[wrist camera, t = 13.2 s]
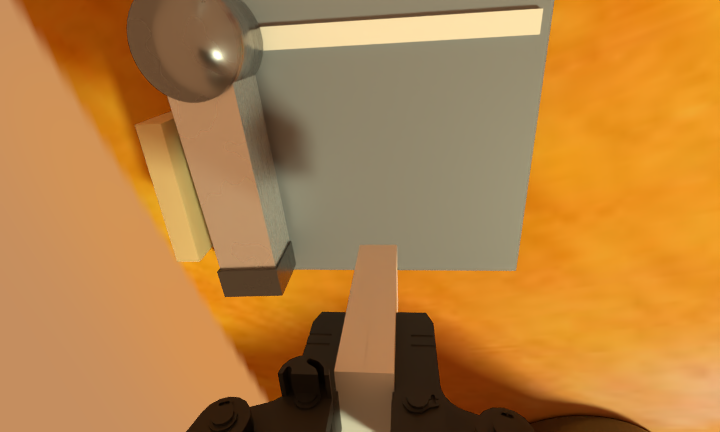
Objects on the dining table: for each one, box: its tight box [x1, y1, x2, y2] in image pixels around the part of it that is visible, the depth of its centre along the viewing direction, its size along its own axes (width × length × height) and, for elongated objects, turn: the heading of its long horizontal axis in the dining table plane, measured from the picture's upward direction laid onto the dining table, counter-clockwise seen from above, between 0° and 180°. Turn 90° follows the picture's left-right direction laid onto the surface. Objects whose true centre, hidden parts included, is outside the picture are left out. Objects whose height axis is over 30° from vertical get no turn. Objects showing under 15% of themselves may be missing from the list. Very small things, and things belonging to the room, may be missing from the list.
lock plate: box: [135, 0, 554, 271], centre depth 17 cm, size 26×18×5 cm
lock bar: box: [127, 0, 296, 297], centre depth 19 cm, size 14×4×3 cm, turn 6°
